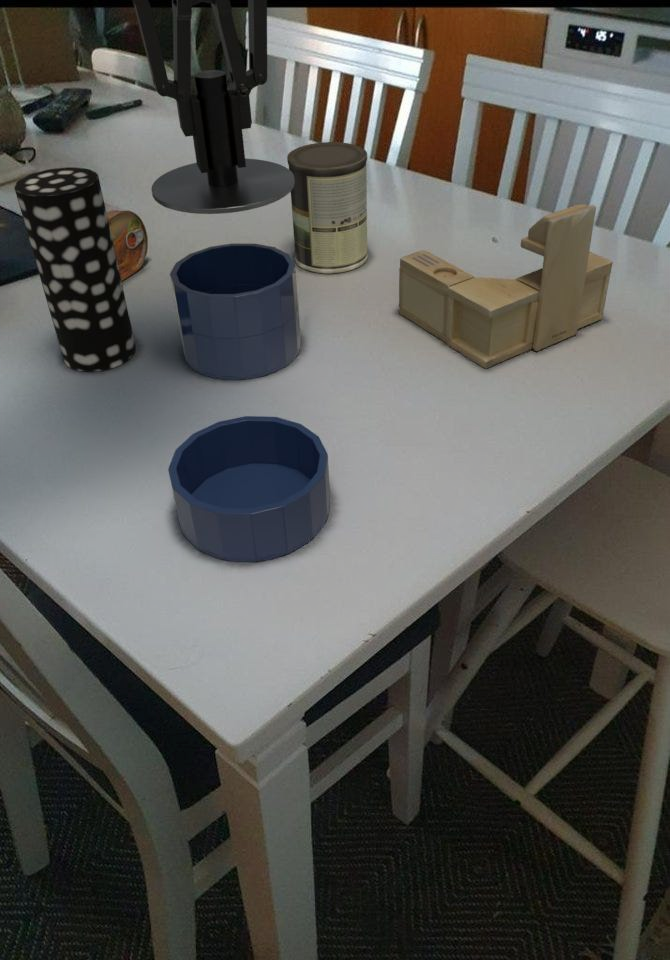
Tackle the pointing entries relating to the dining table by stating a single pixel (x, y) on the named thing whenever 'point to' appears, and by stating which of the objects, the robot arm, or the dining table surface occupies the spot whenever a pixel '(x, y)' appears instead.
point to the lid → (220, 164)
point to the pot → (237, 310)
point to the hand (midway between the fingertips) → (221, 165)
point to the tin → (128, 241)
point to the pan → (251, 488)
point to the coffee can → (329, 206)
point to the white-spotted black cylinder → (77, 266)
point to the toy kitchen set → (511, 293)
